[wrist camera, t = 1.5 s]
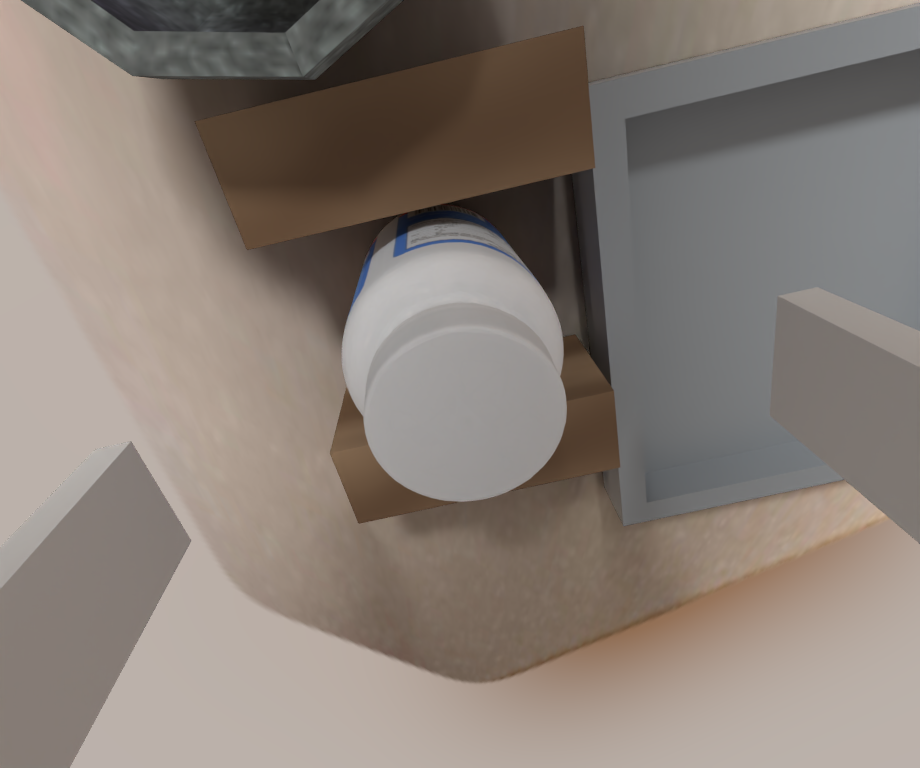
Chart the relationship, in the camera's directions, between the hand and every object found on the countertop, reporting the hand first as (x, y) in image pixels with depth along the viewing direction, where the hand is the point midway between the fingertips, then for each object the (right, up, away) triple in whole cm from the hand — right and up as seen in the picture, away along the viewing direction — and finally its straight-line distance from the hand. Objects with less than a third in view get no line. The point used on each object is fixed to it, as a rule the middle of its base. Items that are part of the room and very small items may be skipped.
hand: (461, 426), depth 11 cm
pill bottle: (-1, +5, +8) cm, 9 cm away
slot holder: (-1, +5, +8) cm, 9 cm away
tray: (+12, +5, +9) cm, 15 cm away
